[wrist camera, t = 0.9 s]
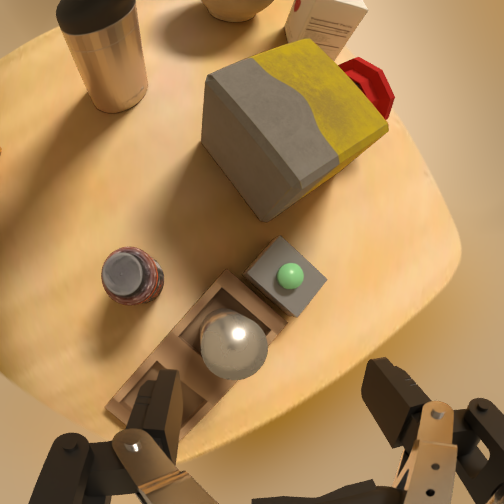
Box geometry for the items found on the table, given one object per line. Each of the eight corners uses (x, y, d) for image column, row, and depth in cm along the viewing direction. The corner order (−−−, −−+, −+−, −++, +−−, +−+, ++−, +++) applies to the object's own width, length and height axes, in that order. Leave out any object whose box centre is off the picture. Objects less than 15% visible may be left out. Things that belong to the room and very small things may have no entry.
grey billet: (189, 334, 36) (187, 351, 26) (221, 298, 38) (231, 301, 27) (226, 364, 37) (238, 392, 26) (257, 329, 38) (280, 344, 27)
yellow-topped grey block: (375, 146, 46) (430, 103, 31) (262, 226, 40) (298, 191, 26) (319, 79, 46) (356, 23, 31) (198, 141, 40) (201, 73, 26)
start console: (242, 274, 39) (248, 272, 34) (272, 240, 40) (282, 233, 35) (287, 315, 40) (299, 318, 35) (315, 280, 41) (330, 279, 36)
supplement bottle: (149, 312, 36) (130, 320, 25) (111, 285, 36) (80, 283, 25) (174, 272, 38) (165, 265, 27) (136, 246, 37) (113, 229, 26)
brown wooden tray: (167, 446, 34) (165, 454, 32) (109, 401, 34) (104, 407, 31) (282, 320, 39) (288, 322, 37) (225, 269, 39) (226, 268, 36)
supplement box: (282, 25, 46) (305, -31, 32) (325, 32, 48) (354, -18, 33) (289, 55, 45) (316, -5, 31) (335, 63, 47) (370, 10, 32)
